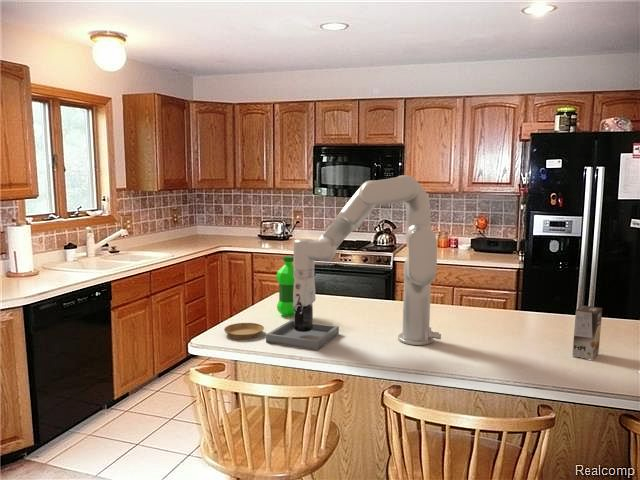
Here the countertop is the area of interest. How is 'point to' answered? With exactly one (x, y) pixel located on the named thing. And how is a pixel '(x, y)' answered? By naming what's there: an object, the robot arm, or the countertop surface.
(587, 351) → the coffee box
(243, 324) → the plant saucer
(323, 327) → the tray
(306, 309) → the supplement bottle
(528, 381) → the countertop surface
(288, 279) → the plastic bottle
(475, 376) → the countertop surface
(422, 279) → the robot arm
